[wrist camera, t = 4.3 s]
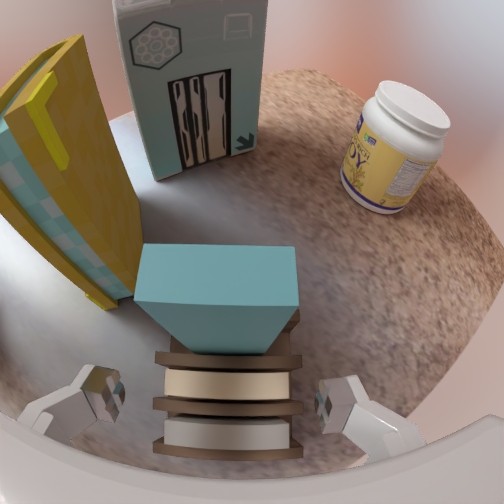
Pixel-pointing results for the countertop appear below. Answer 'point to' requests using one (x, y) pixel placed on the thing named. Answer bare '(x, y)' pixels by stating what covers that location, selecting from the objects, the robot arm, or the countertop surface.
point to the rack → (270, 362)
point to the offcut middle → (227, 385)
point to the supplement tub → (393, 147)
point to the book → (68, 174)
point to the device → (192, 77)
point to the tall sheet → (219, 294)
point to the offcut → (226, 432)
